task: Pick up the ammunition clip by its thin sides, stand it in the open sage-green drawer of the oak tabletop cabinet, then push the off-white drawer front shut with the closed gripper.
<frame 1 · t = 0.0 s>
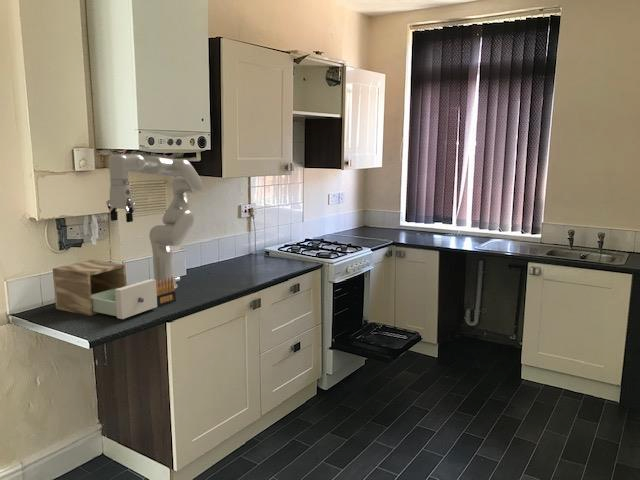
hand: (121, 221, 243), 37 cm above the counter, tool pointing down, fingers open, 9 cm apart
cabinet: (92, 306, 239), on the counter
drawer: (121, 295, 230), point 7 cm above the counter, slide at 15.0 cm
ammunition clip: (165, 304, 243), on the counter
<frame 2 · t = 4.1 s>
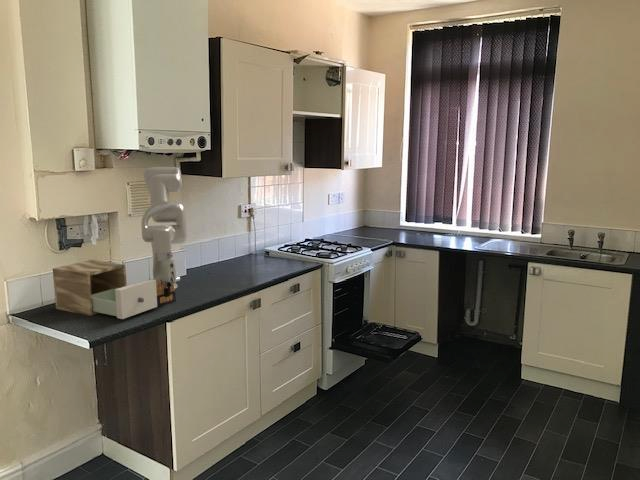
hand: (165, 295, 242), 4 cm above the counter, tool pointing down, fingers closed on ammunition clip, 2 cm apart
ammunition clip: (165, 304, 243), on the counter, touching gripper
everything else where it was.
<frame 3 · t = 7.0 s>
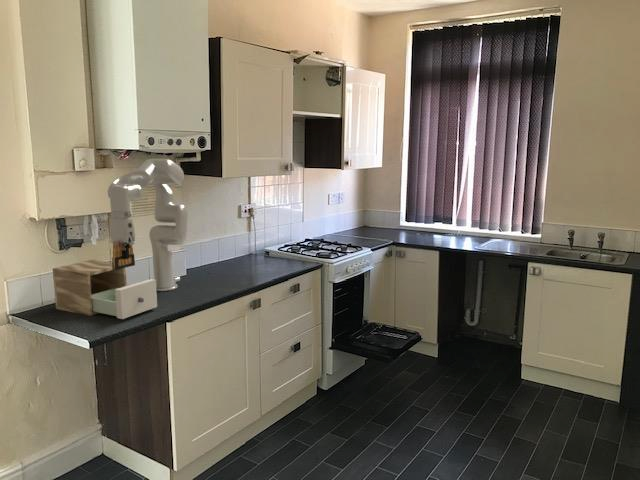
hand: (123, 258, 228), 23 cm above the counter, tool pointing down, fingers closed on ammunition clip
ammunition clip: (124, 267, 228), point 19 cm above the counter, touching gripper
everything else where it was.
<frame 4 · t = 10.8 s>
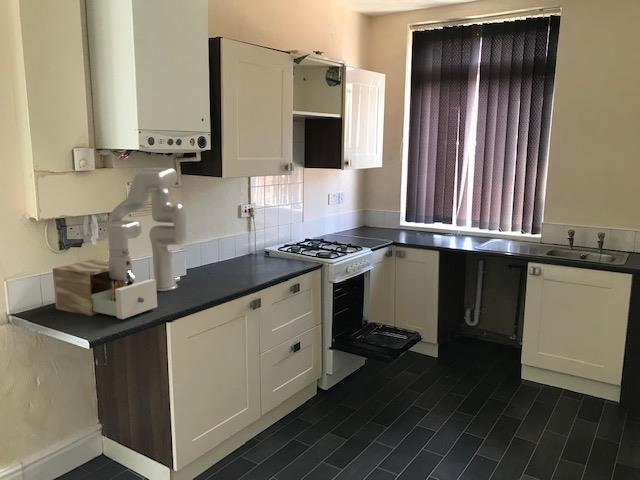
hand: (121, 293, 229), 8 cm above the counter, tool pointing down, fingers open, 7 cm apart
drawer: (121, 295, 230), point 7 cm above the counter, slide at 15.0 cm, touching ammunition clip
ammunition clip: (123, 307, 230), point 2 cm above the counter, touching drawer
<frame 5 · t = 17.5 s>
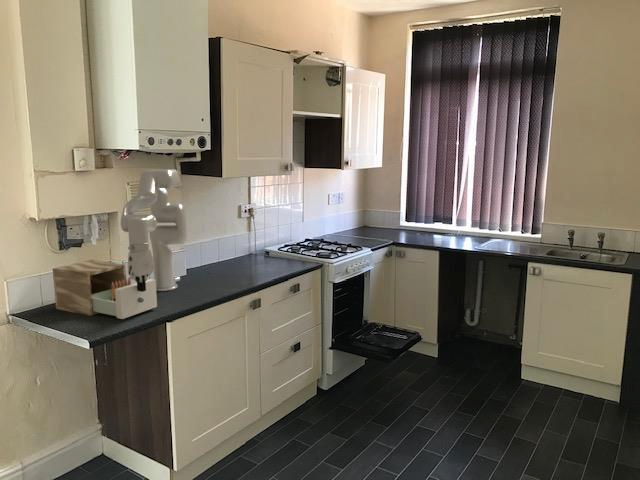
hand: (141, 290, 223), 11 cm above the counter, tool pointing down, fingers closed
drawer: (120, 295, 230), point 7 cm above the counter, slide at 14.9 cm, touching gripper, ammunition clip
everything else where it was.
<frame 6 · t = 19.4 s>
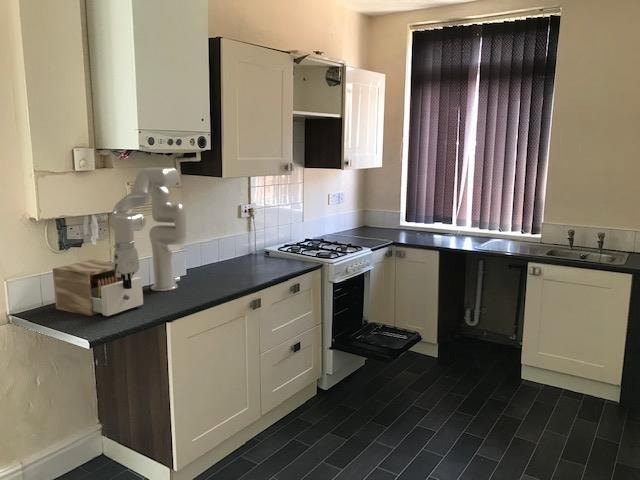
hand: (127, 288, 227), 11 cm above the counter, tool pointing down, fingers closed
drawer: (107, 293, 233), point 7 cm above the counter, slide at 6.6 cm, touching gripper, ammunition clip
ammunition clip: (109, 304, 234), point 2 cm above the counter, touching drawer
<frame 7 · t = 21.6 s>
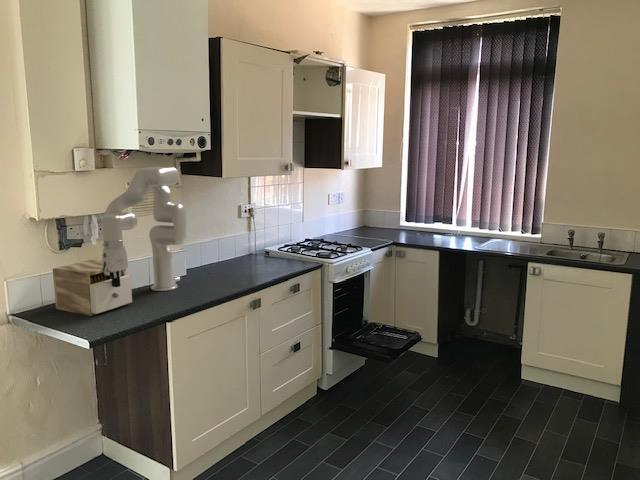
hand: (116, 286, 230), 11 cm above the counter, tool pointing down, fingers closed
drawer: (96, 291, 237), point 7 cm above the counter, slide at -0.1 cm, touching gripper, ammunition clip
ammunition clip: (98, 302, 238), point 2 cm above the counter, touching drawer
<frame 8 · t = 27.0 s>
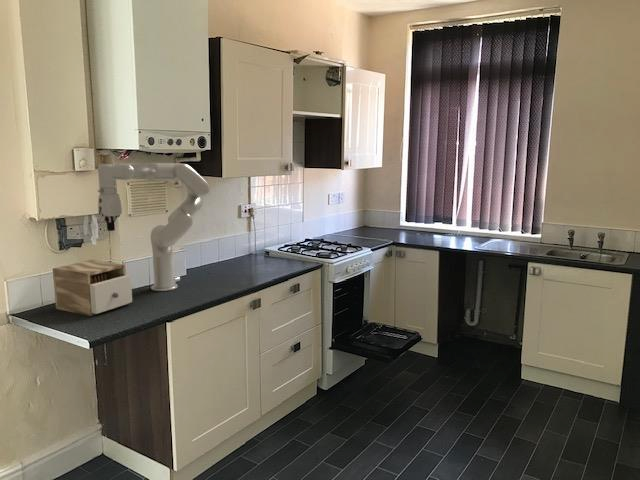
hand: (111, 230, 252), 31 cm above the counter, tool pointing down, fingers closed
drawer: (96, 291, 237), point 7 cm above the counter, slide at 0.0 cm, touching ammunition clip
everything else where it was.
at the end: drawer slide at 0.0 cm; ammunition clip inside the target area on the cabinet (3.9 cm from its centre), point 2.2 cm above the cabinet's base; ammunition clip tilted 0° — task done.
